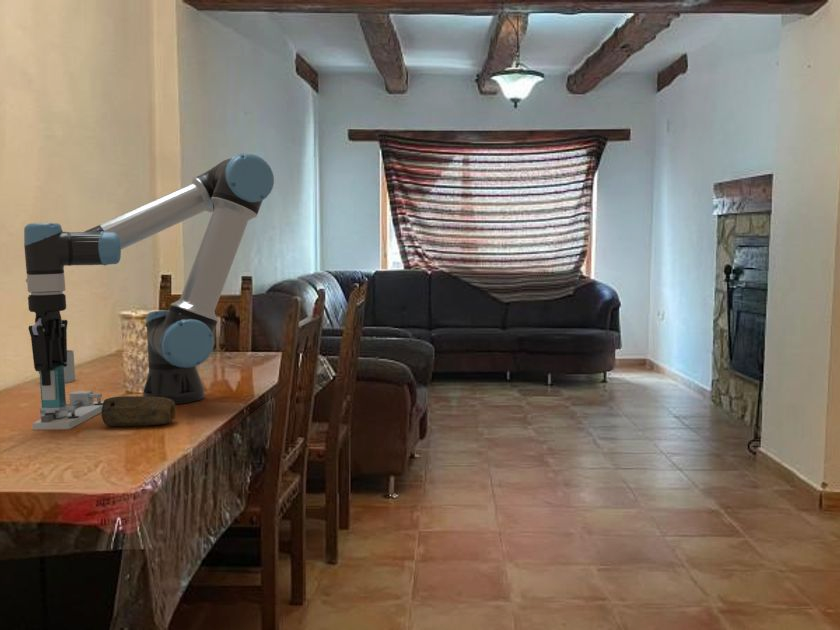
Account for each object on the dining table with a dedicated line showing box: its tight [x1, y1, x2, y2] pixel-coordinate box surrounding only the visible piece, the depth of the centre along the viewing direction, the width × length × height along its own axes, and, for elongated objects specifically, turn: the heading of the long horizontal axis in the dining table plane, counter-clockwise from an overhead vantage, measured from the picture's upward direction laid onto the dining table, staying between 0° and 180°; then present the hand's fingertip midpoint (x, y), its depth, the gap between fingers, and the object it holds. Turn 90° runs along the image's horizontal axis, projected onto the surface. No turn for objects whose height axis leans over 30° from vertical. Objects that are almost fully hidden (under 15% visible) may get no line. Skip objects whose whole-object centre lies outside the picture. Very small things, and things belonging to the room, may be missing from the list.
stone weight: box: [100, 395, 176, 428], centre depth 171 cm, size 15×7×7 cm, turn 99°
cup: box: [37, 349, 76, 384], centre depth 228 cm, size 7×10×9 cm
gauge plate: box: [31, 390, 104, 431], centre depth 179 cm, size 8×22×4 cm, turn 0°
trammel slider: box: [38, 365, 76, 418], centre depth 172 cm, size 7×4×11 cm, turn 90°
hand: (53, 397), depth 173 cm, fingers closed on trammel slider, 3 cm apart
